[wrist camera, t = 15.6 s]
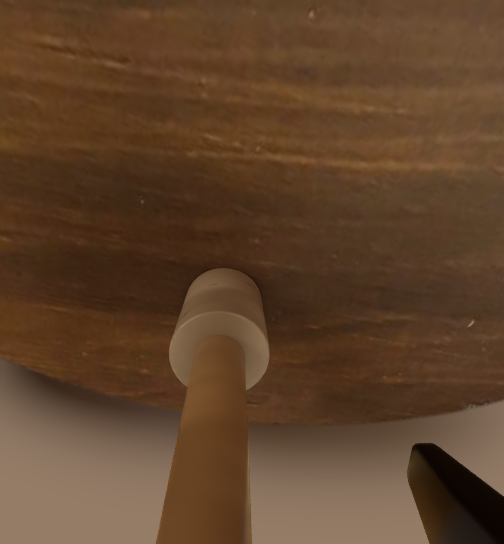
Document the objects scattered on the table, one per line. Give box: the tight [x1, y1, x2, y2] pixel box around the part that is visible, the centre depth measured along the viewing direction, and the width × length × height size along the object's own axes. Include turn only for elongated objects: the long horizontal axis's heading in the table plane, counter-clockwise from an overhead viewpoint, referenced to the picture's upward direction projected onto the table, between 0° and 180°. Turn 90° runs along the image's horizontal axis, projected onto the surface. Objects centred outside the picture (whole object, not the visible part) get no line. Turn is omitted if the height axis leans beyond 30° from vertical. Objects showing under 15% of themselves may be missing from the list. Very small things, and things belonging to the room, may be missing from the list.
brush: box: [156, 268, 270, 544], centre depth 10 cm, size 3×3×11 cm
